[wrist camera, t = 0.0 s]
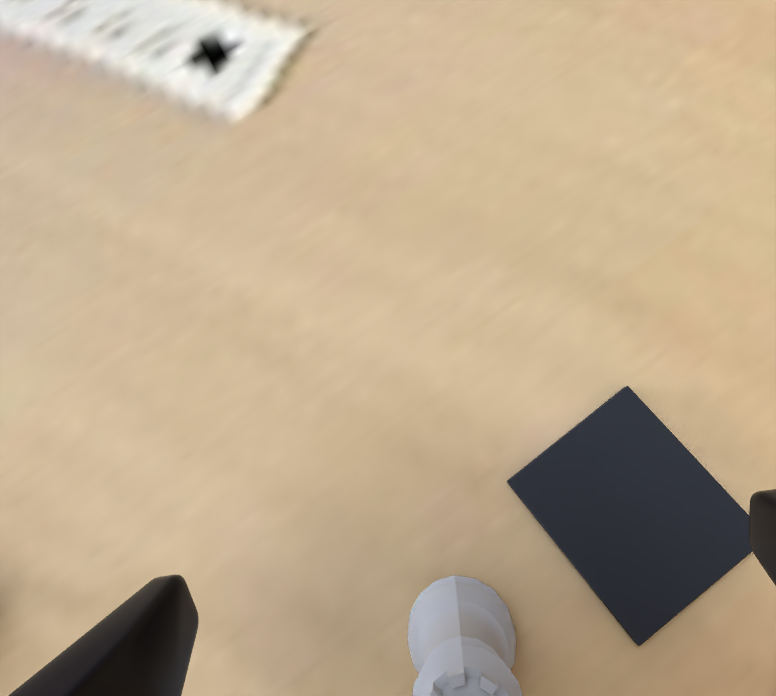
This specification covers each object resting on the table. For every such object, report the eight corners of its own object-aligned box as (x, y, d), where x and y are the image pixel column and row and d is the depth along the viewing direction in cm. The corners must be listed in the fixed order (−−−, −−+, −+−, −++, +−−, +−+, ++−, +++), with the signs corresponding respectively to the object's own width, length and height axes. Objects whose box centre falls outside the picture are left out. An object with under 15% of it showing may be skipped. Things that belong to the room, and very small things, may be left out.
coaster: (763, 536, 20) (769, 537, 20) (635, 643, 20) (639, 646, 19) (624, 386, 22) (628, 385, 22) (506, 481, 22) (507, 481, 22)
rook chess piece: (403, 575, 21) (380, 637, 14) (505, 569, 21) (541, 628, 13) (413, 691, 20) (393, 828, 13) (521, 686, 20) (569, 825, 12)
